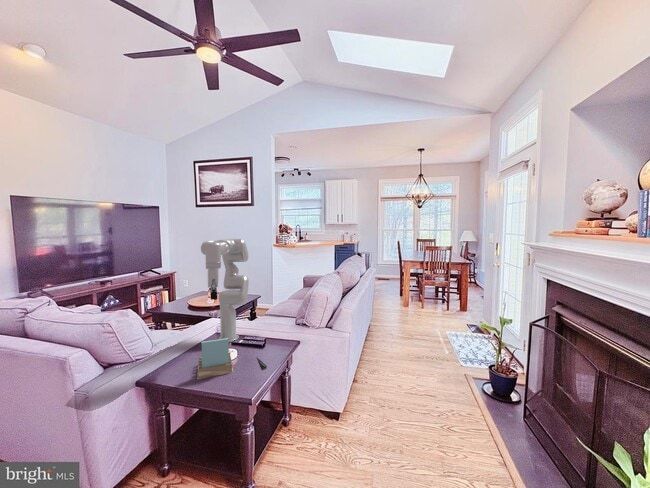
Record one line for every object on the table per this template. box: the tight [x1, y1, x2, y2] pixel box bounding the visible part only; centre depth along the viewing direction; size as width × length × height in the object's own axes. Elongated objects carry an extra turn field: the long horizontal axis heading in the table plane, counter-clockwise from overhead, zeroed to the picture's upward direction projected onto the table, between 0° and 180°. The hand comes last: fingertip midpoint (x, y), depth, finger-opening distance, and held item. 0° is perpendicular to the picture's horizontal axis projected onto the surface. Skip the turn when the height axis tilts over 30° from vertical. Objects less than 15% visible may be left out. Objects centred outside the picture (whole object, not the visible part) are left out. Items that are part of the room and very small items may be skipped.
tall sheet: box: [201, 338, 230, 368], centre depth 134 cm, size 2×12×16 cm, turn 114°
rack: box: [196, 352, 234, 380], centre depth 138 cm, size 15×16×5 cm
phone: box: [256, 356, 268, 371], centre depth 145 cm, size 8×1×15 cm
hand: (213, 297), depth 149 cm, fingers open, 9 cm apart
